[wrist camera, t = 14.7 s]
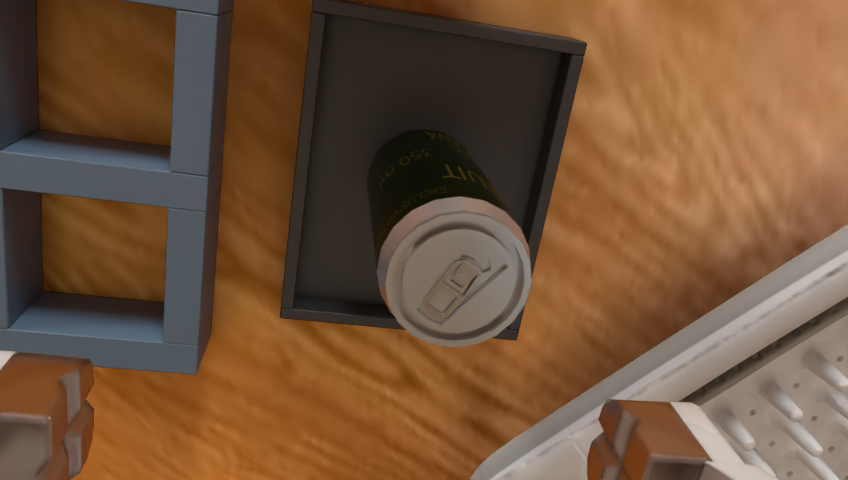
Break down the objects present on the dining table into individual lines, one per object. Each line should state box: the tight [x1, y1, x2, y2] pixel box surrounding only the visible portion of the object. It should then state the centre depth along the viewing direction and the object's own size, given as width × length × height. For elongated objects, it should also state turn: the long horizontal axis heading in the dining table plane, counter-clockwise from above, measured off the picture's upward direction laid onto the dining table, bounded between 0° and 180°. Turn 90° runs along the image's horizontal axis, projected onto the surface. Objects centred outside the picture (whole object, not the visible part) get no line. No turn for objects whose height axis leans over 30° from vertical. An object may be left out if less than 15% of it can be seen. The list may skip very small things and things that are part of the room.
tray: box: [280, 0, 587, 340], centre depth 34 cm, size 15×12×2 cm
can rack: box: [0, 0, 233, 375], centre depth 31 cm, size 18×10×4 cm, turn 171°
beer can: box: [367, 129, 531, 348], centre depth 29 cm, size 5×5×12 cm
